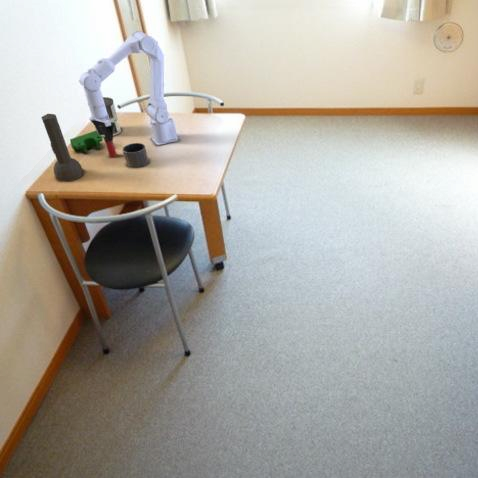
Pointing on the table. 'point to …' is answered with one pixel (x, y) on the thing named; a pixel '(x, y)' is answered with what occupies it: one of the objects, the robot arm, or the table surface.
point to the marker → (110, 148)
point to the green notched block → (86, 141)
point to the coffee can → (111, 115)
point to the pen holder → (135, 155)
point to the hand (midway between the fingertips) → (106, 137)
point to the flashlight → (61, 151)
